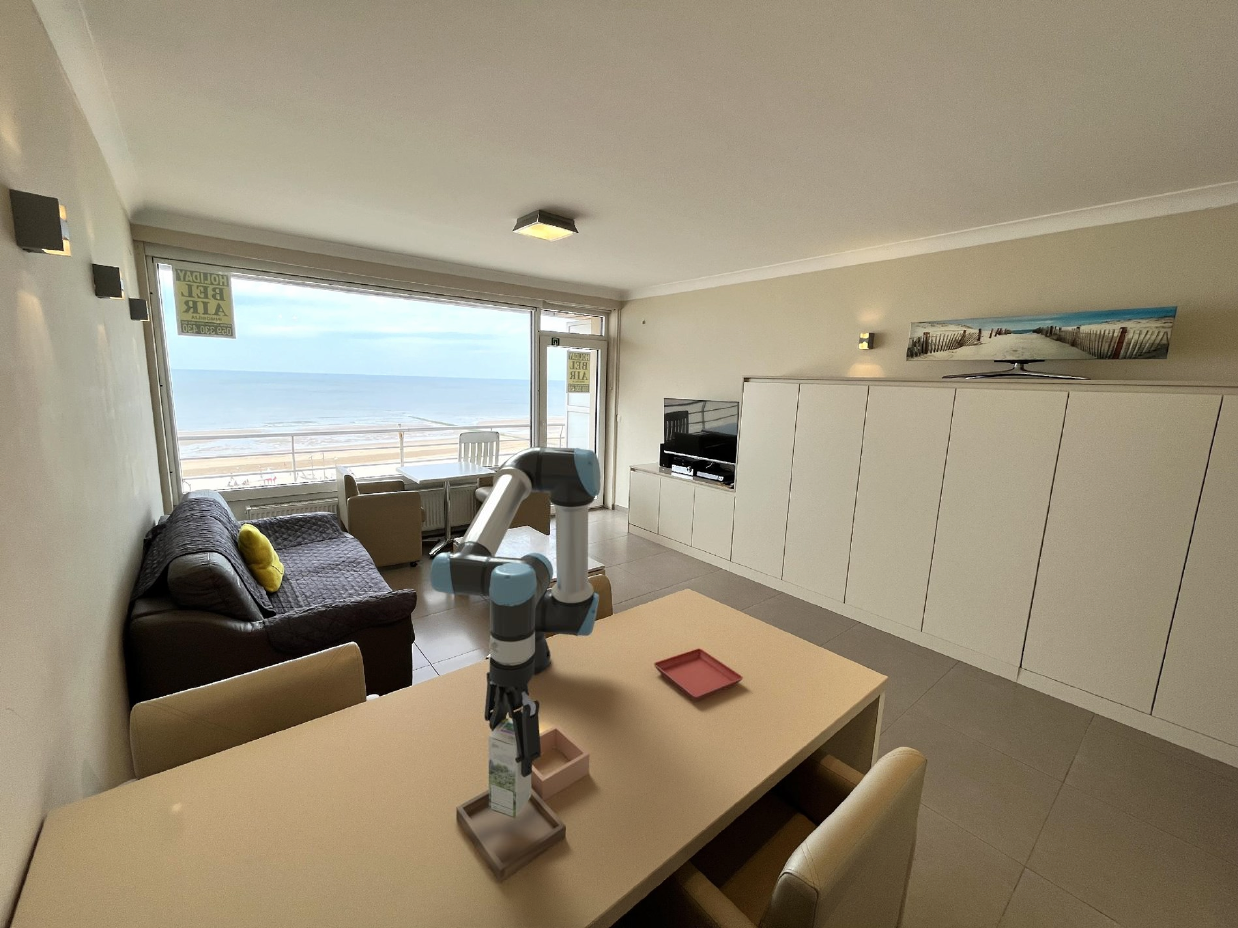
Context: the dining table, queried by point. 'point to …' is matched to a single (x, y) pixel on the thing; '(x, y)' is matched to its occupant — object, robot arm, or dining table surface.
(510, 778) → the syrup box
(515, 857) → the tray
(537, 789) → the holder
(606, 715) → the dining table surface
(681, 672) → the plant saucer
